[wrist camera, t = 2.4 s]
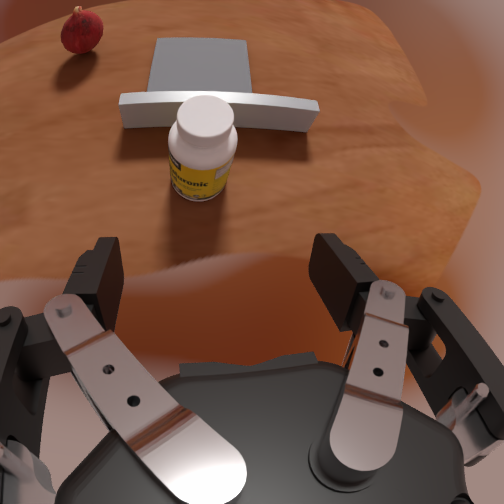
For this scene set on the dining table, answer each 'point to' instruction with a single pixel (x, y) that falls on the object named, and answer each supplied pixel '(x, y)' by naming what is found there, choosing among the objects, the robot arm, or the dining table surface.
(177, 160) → the supplement bottle
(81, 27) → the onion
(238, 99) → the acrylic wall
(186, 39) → the slate mat
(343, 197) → the dining table surface
